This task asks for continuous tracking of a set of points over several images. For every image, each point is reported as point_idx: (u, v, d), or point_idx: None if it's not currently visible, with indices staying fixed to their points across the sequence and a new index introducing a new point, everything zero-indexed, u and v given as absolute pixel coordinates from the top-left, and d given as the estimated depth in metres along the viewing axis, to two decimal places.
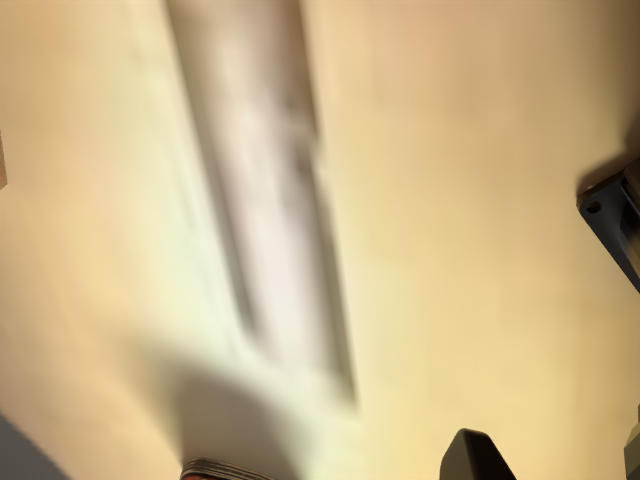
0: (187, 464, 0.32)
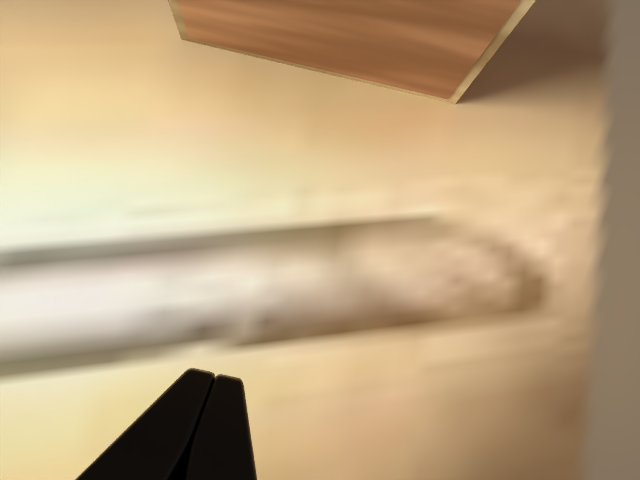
0: None
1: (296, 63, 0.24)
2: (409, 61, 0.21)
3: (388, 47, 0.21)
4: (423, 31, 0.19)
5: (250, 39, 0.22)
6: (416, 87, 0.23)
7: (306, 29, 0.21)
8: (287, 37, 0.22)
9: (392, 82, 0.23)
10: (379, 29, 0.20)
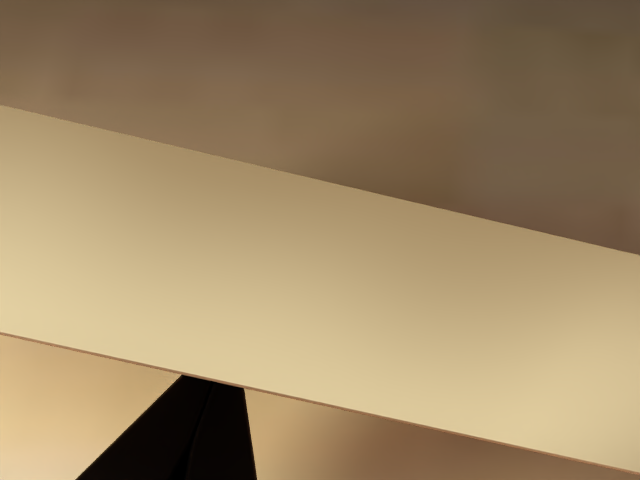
0: None
1: None
2: None
3: None
4: None
5: None
6: None
7: None
8: None
9: None
10: None
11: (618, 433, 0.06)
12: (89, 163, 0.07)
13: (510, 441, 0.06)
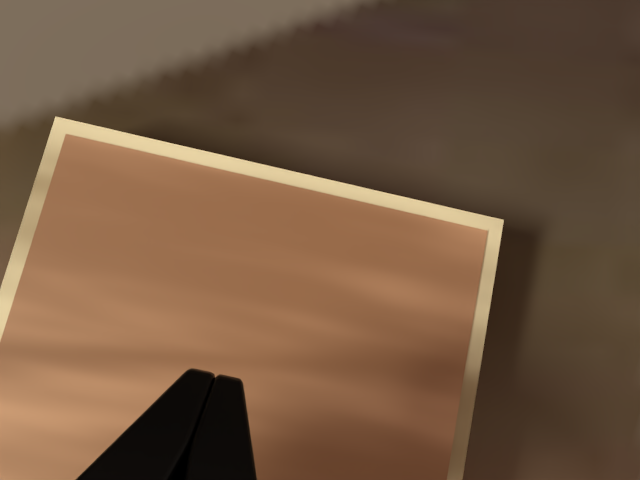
0: None
1: None
2: None
3: (318, 452, 0.14)
4: (369, 391, 0.14)
5: None
6: None
7: None
8: None
9: None
10: (307, 400, 0.14)
11: None
12: None
13: (415, 201, 0.15)
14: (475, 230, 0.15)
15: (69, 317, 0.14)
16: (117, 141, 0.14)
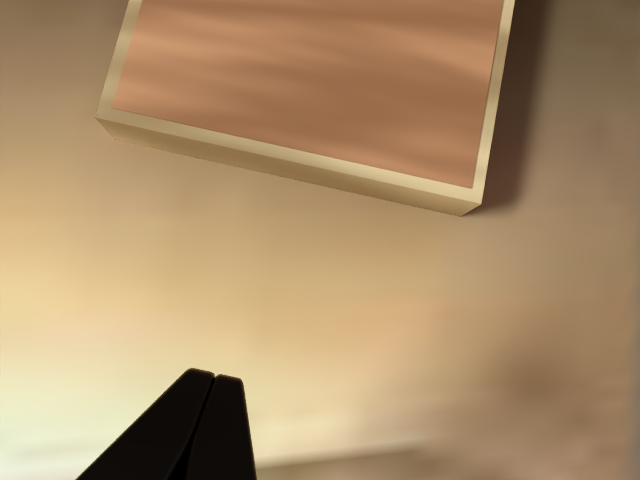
0: None
1: (260, 144, 0.17)
2: (412, 103, 0.18)
3: (387, 80, 0.18)
4: (425, 37, 0.18)
5: (207, 92, 0.17)
6: (426, 165, 0.17)
7: (290, 60, 0.18)
8: (262, 78, 0.17)
9: (393, 160, 0.17)
10: (378, 42, 0.18)
11: None
12: None
13: None
14: None
15: None
16: None
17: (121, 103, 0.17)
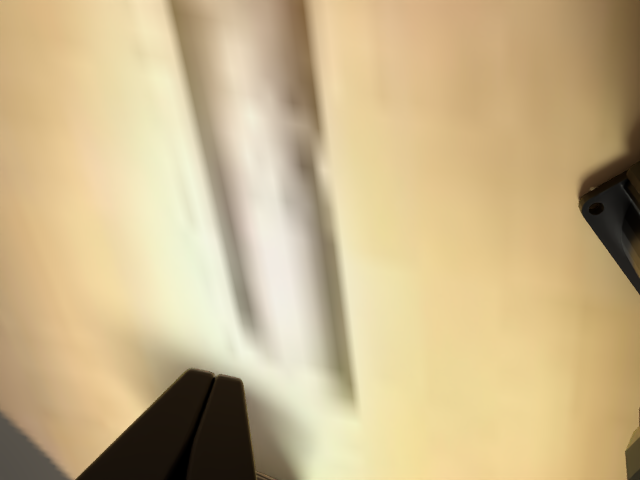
0: None
1: None
2: None
3: None
4: None
5: None
6: None
7: None
8: None
9: None
10: None
11: None
12: None
13: None
14: None
15: None
16: None
17: None
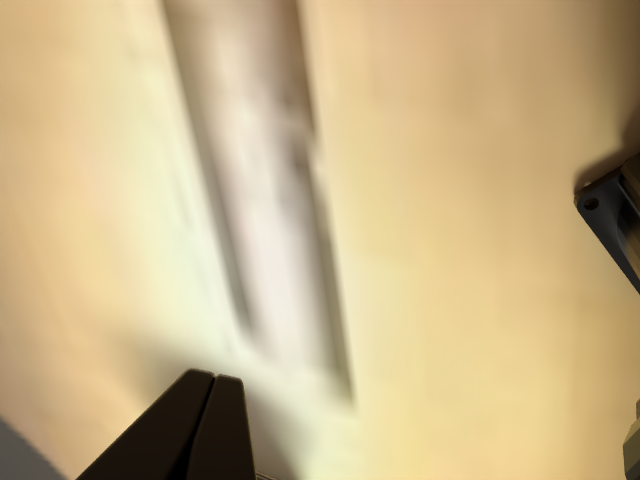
0: None
1: None
2: None
3: None
4: None
5: None
6: None
7: None
8: None
9: None
10: None
11: None
12: None
13: None
14: None
15: None
16: None
17: None
